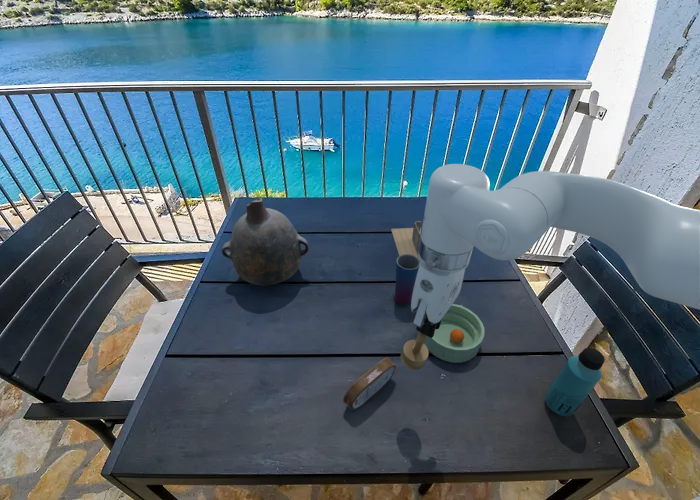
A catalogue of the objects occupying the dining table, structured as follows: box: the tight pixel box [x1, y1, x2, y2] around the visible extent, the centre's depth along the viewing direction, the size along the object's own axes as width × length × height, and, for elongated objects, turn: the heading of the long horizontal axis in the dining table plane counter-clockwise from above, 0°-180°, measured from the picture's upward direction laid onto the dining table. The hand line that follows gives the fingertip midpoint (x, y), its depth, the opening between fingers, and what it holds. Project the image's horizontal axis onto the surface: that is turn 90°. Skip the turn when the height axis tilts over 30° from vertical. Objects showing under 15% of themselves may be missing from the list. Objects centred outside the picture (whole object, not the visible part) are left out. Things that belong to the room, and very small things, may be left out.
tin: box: [343, 357, 397, 411], centre depth 81 cm, size 15×3×8 cm, turn 131°
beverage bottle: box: [545, 347, 606, 417], centre depth 75 cm, size 6×7×20 cm
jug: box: [221, 197, 310, 286], centre depth 107 cm, size 24×21×30 cm
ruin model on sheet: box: [390, 220, 423, 263], centre depth 125 cm, size 25×16×10 cm, turn 5°
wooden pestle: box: [400, 331, 430, 371], centre depth 65 cm, size 5×5×16 cm
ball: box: [450, 329, 464, 343], centre depth 94 cm, size 4×4×4 cm
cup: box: [394, 254, 420, 305], centre depth 104 cm, size 7×7×15 cm
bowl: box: [424, 303, 485, 364], centre depth 94 cm, size 16×16×6 cm
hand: (427, 328), depth 63 cm, fingers closed on wooden pestle
